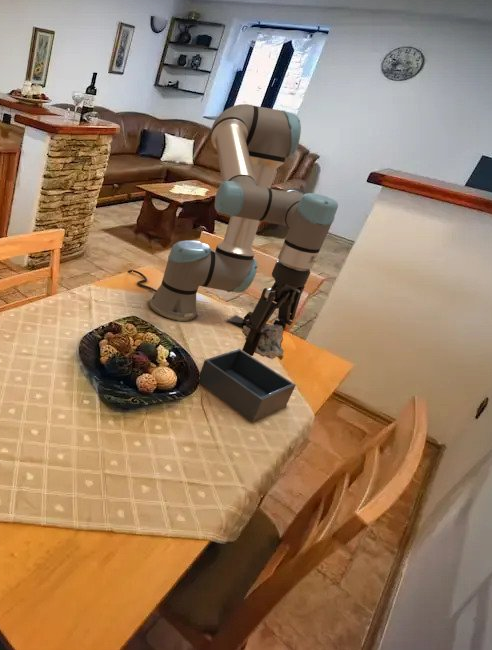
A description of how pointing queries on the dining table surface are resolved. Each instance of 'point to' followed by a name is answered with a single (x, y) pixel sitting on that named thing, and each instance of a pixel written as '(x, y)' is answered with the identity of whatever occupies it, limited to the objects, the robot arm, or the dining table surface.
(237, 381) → the dark blue storage bin
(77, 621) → the dining table surface
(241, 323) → the build plate
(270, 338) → the mineral specimen
